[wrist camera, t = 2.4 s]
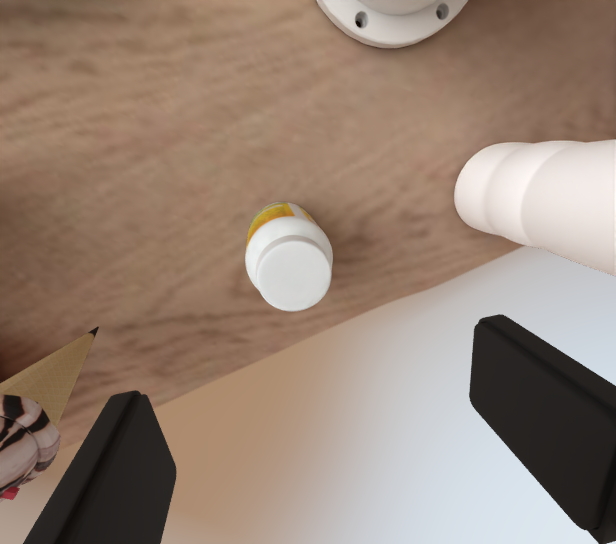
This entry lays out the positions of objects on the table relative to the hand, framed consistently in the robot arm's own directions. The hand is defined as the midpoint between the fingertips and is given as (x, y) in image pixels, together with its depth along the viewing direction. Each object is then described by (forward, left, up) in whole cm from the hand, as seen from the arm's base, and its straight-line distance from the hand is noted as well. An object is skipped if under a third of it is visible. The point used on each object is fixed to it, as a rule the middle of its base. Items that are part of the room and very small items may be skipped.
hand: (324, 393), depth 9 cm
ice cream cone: (+16, +5, -18) cm, 24 cm away
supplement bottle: (0, 0, -18) cm, 18 cm away
